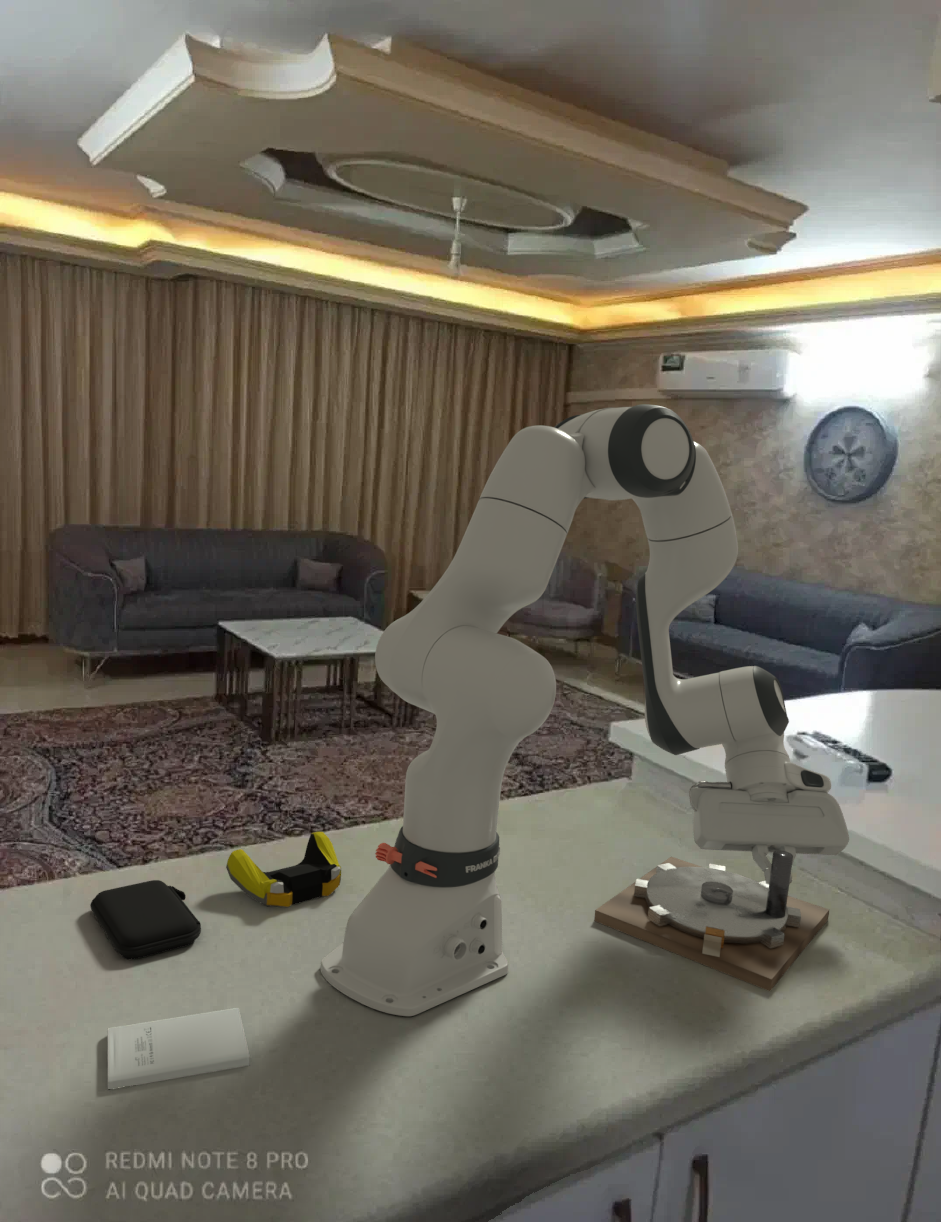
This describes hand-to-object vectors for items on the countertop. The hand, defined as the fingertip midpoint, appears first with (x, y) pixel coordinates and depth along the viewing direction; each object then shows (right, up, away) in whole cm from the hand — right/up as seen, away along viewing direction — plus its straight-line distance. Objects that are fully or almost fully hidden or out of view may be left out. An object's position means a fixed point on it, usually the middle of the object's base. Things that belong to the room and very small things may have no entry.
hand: (779, 883), depth 118 cm
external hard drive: (-68, -7, -31) cm, 75 cm away
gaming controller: (-64, -2, +3) cm, 64 cm away
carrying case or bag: (-78, -3, -9) cm, 79 cm away
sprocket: (-8, -4, +2) cm, 9 cm away
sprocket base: (-8, -6, +3) cm, 10 cm away
